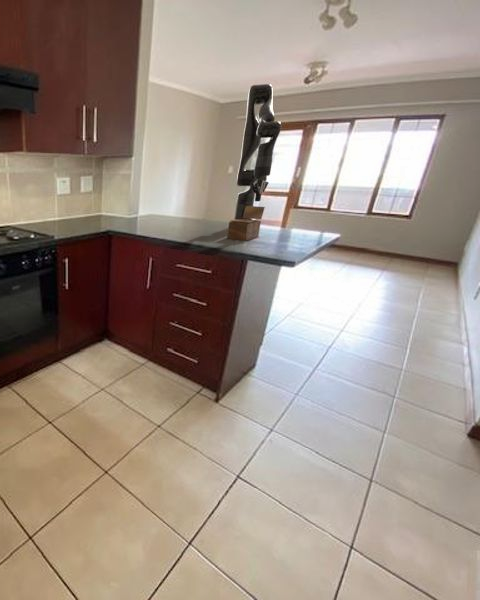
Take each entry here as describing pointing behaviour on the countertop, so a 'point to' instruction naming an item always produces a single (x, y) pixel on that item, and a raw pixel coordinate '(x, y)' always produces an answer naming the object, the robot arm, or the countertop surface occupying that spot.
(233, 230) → the carton
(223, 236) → the countertop surface
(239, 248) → the countertop surface
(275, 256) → the countertop surface
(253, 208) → the flap
